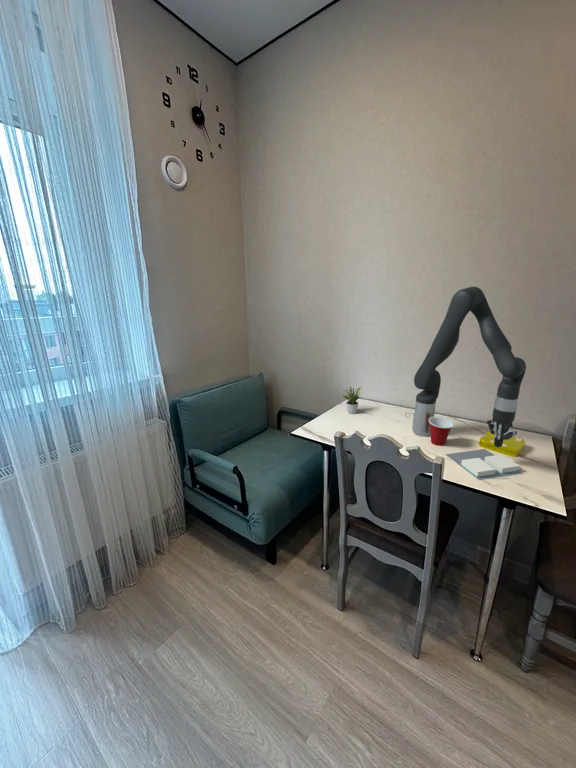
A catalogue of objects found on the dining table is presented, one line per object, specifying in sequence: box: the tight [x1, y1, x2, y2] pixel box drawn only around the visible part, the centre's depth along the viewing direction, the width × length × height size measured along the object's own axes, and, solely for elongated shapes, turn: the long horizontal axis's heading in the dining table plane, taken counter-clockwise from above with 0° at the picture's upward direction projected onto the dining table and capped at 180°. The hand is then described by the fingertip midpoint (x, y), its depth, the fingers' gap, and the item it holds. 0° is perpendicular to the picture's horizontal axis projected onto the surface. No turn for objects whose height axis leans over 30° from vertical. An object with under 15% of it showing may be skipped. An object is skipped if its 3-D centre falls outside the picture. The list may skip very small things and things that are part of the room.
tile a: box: [460, 458, 496, 479], centre depth 128 cm, size 2×8×9 cm
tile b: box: [484, 454, 521, 474], centre depth 130 cm, size 2×8×9 cm
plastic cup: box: [429, 416, 455, 447], centre depth 149 cm, size 11×11×12 cm
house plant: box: [340, 386, 363, 415], centre depth 190 cm, size 14×14×16 cm
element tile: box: [478, 430, 526, 458], centre depth 146 cm, size 15×15×5 cm
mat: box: [445, 448, 524, 481], centre depth 133 cm, size 20×20×1 cm
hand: (497, 446), depth 132 cm, fingers closed
